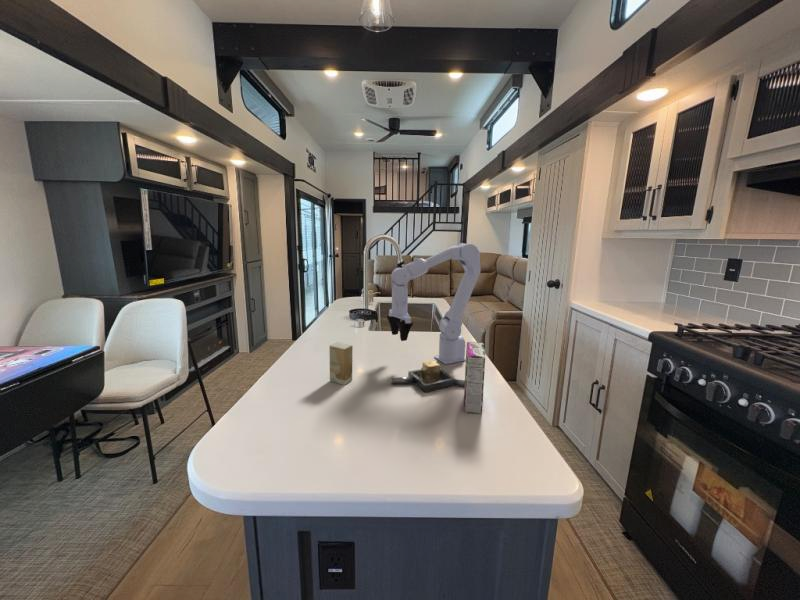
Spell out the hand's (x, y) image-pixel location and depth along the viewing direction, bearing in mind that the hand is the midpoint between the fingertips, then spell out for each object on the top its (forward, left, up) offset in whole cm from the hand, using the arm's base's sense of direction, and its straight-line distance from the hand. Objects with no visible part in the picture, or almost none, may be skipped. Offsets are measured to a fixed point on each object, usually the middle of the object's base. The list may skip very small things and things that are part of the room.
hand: (399, 337), depth 118 cm
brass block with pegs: (-2, +20, -9) cm, 22 cm away
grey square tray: (-2, +20, -9) cm, 22 cm away
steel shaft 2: (-10, +27, -9) cm, 30 cm away
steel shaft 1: (+7, +17, -9) cm, 20 cm away
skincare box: (+24, +7, -10) cm, 27 cm away
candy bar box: (-6, +36, -10) cm, 38 cm away
